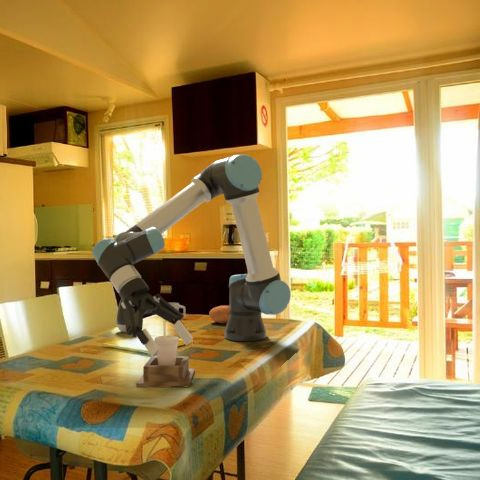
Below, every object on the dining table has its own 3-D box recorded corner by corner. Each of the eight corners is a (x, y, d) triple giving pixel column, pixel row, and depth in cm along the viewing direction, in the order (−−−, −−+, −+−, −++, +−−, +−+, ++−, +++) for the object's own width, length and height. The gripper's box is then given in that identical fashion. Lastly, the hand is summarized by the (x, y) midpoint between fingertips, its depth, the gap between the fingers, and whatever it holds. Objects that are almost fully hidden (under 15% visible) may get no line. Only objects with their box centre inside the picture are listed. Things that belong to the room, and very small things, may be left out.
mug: (161, 319, 209) (161, 304, 209) (166, 317, 216) (166, 302, 216) (183, 320, 207) (183, 305, 207) (187, 317, 214) (187, 302, 214)
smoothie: (155, 371, 125) (155, 319, 125) (179, 371, 126) (179, 318, 126) (153, 379, 119) (153, 323, 119) (178, 378, 120) (178, 323, 119)
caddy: (194, 371, 129) (194, 355, 129) (188, 386, 116) (188, 368, 116) (147, 371, 129) (147, 355, 129) (136, 386, 116) (135, 368, 116)
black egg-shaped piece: (119, 335, 176) (119, 294, 176) (113, 330, 185) (113, 291, 185) (146, 332, 181) (146, 293, 180) (139, 328, 190) (138, 290, 190)
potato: (231, 325, 194) (231, 307, 194) (206, 324, 197) (206, 306, 197) (238, 321, 203) (238, 304, 203) (213, 320, 206) (213, 303, 206)
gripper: (153, 290, 141) (194, 346, 133) (87, 300, 119) (131, 367, 112) (167, 273, 138) (209, 329, 130) (102, 280, 117) (148, 348, 109)
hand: (173, 347), depth 121 cm, fingers open, 13 cm apart
